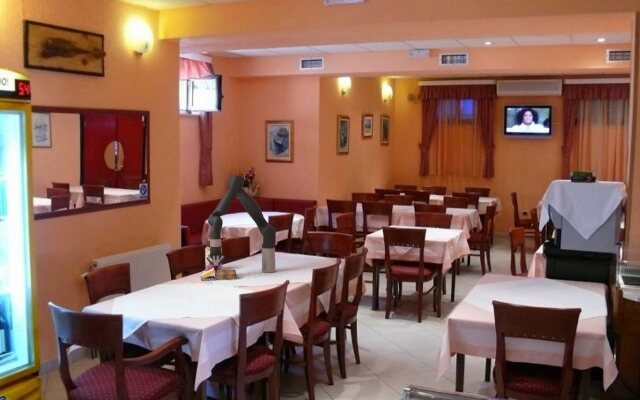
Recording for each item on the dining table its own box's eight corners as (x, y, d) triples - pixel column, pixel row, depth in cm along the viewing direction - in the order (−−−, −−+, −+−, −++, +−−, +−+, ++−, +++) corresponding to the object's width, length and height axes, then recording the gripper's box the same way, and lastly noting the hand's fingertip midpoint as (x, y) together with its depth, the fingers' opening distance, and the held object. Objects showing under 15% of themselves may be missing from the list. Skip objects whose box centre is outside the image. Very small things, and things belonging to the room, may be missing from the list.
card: (215, 271, 427) (213, 267, 427) (215, 272, 422) (213, 269, 421) (202, 276, 426) (201, 273, 426) (203, 278, 420) (201, 275, 420)
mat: (213, 276, 431) (213, 275, 431) (214, 280, 417) (214, 280, 417) (200, 276, 429) (200, 276, 429) (201, 281, 415) (201, 280, 415)
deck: (235, 275, 433) (235, 269, 433) (236, 279, 420) (236, 273, 420) (214, 276, 430) (214, 270, 430) (215, 280, 418) (215, 274, 417)
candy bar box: (205, 271, 447) (204, 248, 446) (207, 269, 452) (206, 247, 451) (220, 271, 446) (220, 248, 445) (222, 269, 451) (221, 247, 450)
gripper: (225, 244, 427) (225, 269, 429) (205, 244, 424) (205, 270, 426) (225, 246, 420) (226, 271, 421) (205, 246, 417) (206, 272, 419)
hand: (215, 270), depth 424 cm, fingers closed
